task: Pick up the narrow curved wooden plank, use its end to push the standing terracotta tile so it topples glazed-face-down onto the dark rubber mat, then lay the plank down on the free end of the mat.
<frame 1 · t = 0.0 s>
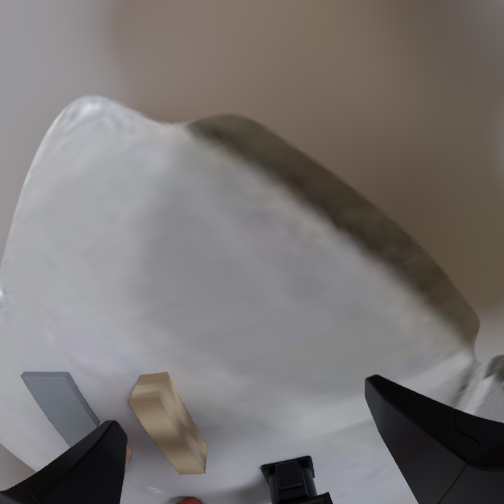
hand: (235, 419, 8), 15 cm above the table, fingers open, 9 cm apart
curved wooden plank: (176, 414, 25), on the table
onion: (193, 497, 30), on the table
mat: (73, 418, 25), on the table
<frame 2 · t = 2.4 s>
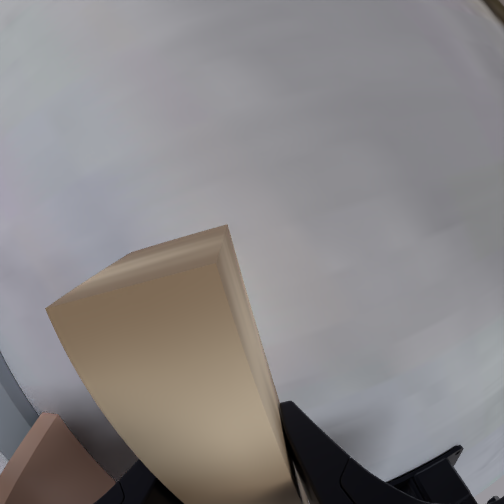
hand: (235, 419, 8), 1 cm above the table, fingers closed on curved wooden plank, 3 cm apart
curved wooden plank: (235, 396, 9), on the table, touching gripper
tile: (78, 451, 10), on the table
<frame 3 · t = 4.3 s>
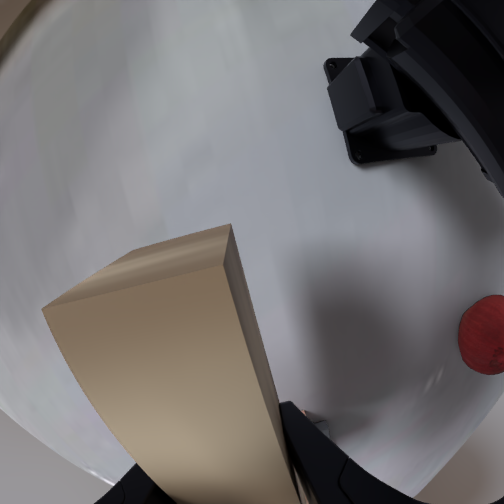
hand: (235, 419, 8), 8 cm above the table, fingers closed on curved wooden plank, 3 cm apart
curved wooden plank: (235, 399, 9), point 7 cm above the table, touching gripper
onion: (462, 315, 17), on the table
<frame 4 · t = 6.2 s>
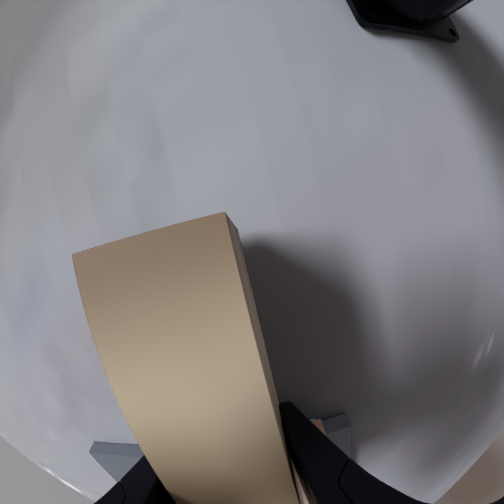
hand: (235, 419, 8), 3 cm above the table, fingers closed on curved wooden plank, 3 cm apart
curved wooden plank: (236, 403, 9), point 2 cm above the table, tilted 11°, touching gripper
mat: (228, 479, 13), on the table
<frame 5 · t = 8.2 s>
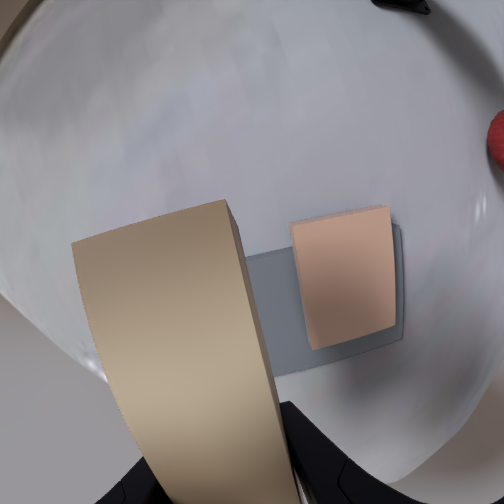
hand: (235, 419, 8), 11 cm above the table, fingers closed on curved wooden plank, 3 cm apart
curved wooden plank: (236, 403, 9), point 10 cm above the table, tilted 14°, touching gripper
tile: (339, 214, 16), point 2 cm above the table, tilted 90°, touching mat
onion: (487, 145, 17), on the table
mat: (301, 309, 19), on the table
when the fingers open (3 cm above the table, at t = 9.7 s): curved wooden plank drops 1 cm, resting on mat.
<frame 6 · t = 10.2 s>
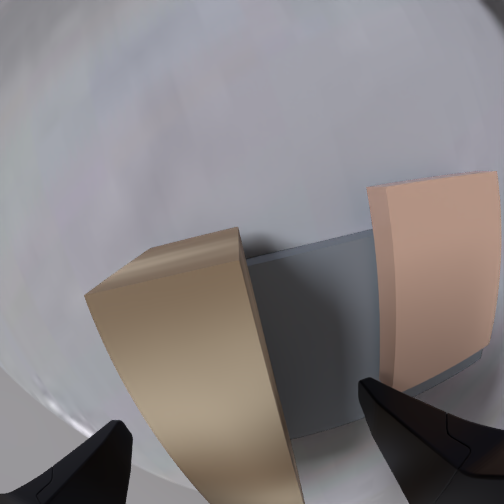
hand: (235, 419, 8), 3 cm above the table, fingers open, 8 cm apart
curved wooden plank: (237, 384, 10), point 1 cm above the table, touching mat
tile: (439, 176, 8), point 2 cm above the table, tilted 90°, touching mat
mat: (369, 332, 11), on the table
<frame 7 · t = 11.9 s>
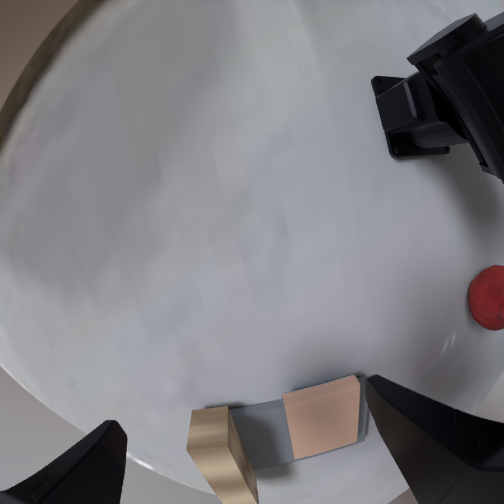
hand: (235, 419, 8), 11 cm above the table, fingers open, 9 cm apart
curved wooden plank: (227, 449, 21), point 1 cm above the table, touching mat
tile: (320, 388, 19), point 2 cm above the table, tilted 90°, touching mat
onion: (470, 285, 21), on the table
mat: (289, 430, 22), on the table
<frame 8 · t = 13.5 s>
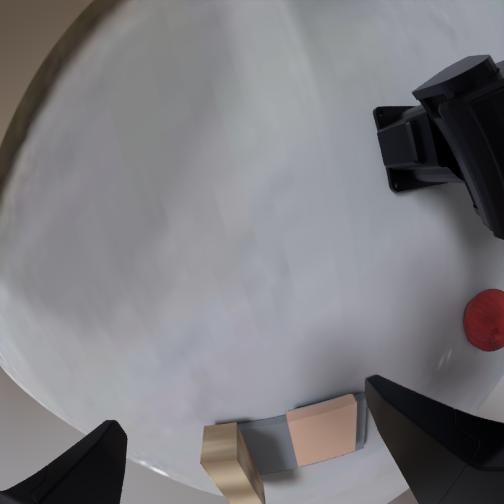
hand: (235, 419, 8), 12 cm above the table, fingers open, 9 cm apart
curved wooden plank: (237, 458, 22), point 1 cm above the table, touching mat
tile: (320, 407, 20), point 2 cm above the table, tilted 90°, touching mat
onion: (466, 305, 22), on the table
mat: (293, 440, 23), on the table
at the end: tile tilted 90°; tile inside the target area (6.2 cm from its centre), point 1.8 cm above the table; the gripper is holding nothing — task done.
